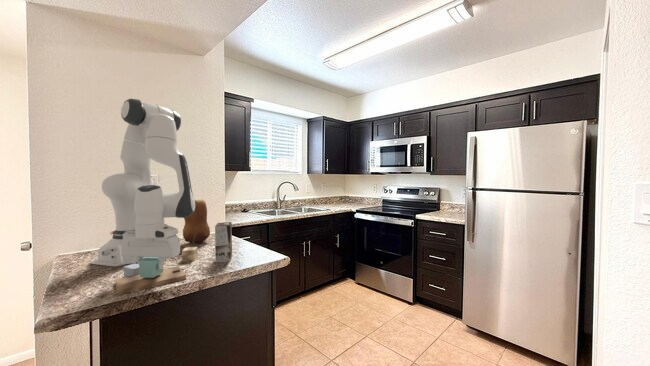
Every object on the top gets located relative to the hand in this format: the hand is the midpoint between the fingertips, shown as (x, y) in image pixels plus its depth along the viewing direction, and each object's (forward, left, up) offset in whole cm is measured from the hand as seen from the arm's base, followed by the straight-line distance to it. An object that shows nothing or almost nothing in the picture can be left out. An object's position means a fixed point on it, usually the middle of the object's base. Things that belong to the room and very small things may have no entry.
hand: (151, 268), depth 96 cm
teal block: (0, 0, -2) cm, 2 cm away
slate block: (-10, +4, -5) cm, 12 cm away
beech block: (0, +24, -5) cm, 24 cm away
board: (0, 0, -5) cm, 5 cm away
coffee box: (+15, +26, -5) cm, 30 cm away
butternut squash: (-12, +50, -5) cm, 52 cm away
